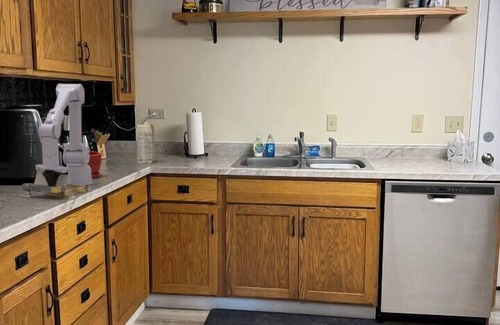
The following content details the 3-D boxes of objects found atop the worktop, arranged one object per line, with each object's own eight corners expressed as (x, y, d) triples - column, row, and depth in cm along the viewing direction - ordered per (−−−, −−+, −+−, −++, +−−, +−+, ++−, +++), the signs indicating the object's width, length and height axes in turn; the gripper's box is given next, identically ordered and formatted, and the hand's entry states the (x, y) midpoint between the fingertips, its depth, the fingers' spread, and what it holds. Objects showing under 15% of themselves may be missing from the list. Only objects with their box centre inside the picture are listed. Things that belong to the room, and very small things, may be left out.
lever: (20, 189, 179) (20, 184, 178) (27, 188, 182) (27, 182, 182) (55, 193, 174) (55, 187, 173) (62, 191, 177) (62, 185, 177)
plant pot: (68, 179, 218) (67, 153, 217) (81, 174, 231) (80, 150, 230) (94, 180, 217) (93, 154, 215) (106, 175, 230) (105, 151, 228)
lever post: (28, 194, 183) (28, 188, 183) (36, 195, 181) (36, 189, 181) (19, 196, 179) (18, 190, 179) (27, 197, 177) (27, 191, 177)
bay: (68, 188, 195) (68, 183, 195) (87, 191, 191) (87, 186, 191) (43, 194, 184) (43, 189, 183) (63, 197, 179) (62, 191, 179)
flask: (53, 188, 197) (52, 164, 195) (46, 191, 190) (45, 167, 188) (36, 188, 196) (35, 164, 195) (28, 191, 189) (27, 167, 188)
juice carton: (155, 162, 278) (155, 122, 274) (151, 164, 270) (151, 122, 266) (140, 161, 278) (139, 121, 275) (136, 163, 271) (135, 122, 267)
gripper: (28, 154, 177) (30, 189, 179) (56, 157, 171) (57, 193, 173) (43, 152, 183) (45, 186, 185) (70, 155, 177) (72, 190, 179)
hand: (52, 189), depth 179 cm, fingers closed, pressing on lever
